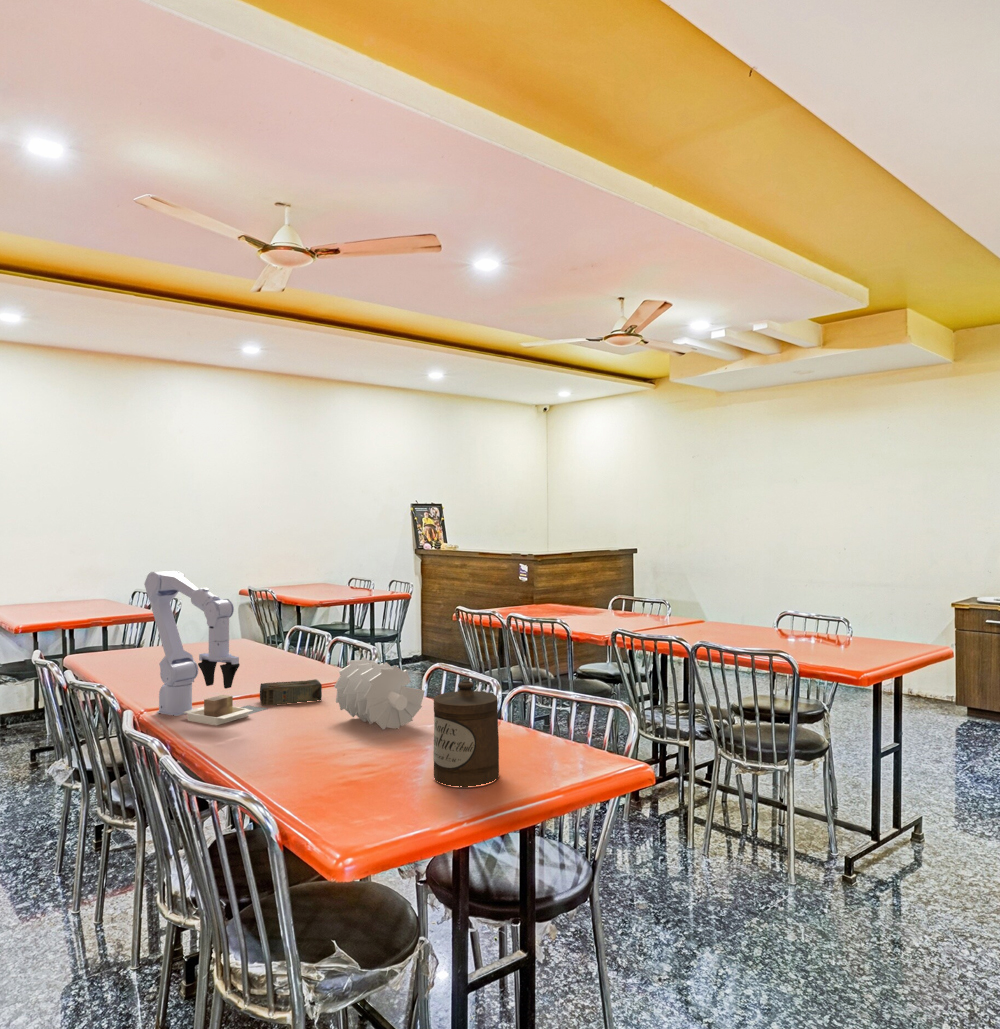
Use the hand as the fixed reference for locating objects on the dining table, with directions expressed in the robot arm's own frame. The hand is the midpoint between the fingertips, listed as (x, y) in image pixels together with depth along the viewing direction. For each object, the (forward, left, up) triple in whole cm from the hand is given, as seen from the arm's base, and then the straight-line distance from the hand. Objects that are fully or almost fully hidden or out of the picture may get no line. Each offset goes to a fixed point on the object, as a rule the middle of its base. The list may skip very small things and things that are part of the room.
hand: (218, 686), depth 220 cm
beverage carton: (+3, +27, -10) cm, 29 cm away
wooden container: (+91, -10, -10) cm, 92 cm away
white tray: (0, 0, -10) cm, 10 cm away
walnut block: (0, 0, -9) cm, 9 cm away
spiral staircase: (+44, +19, -10) cm, 49 cm away
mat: (0, +11, -10) cm, 15 cm away
